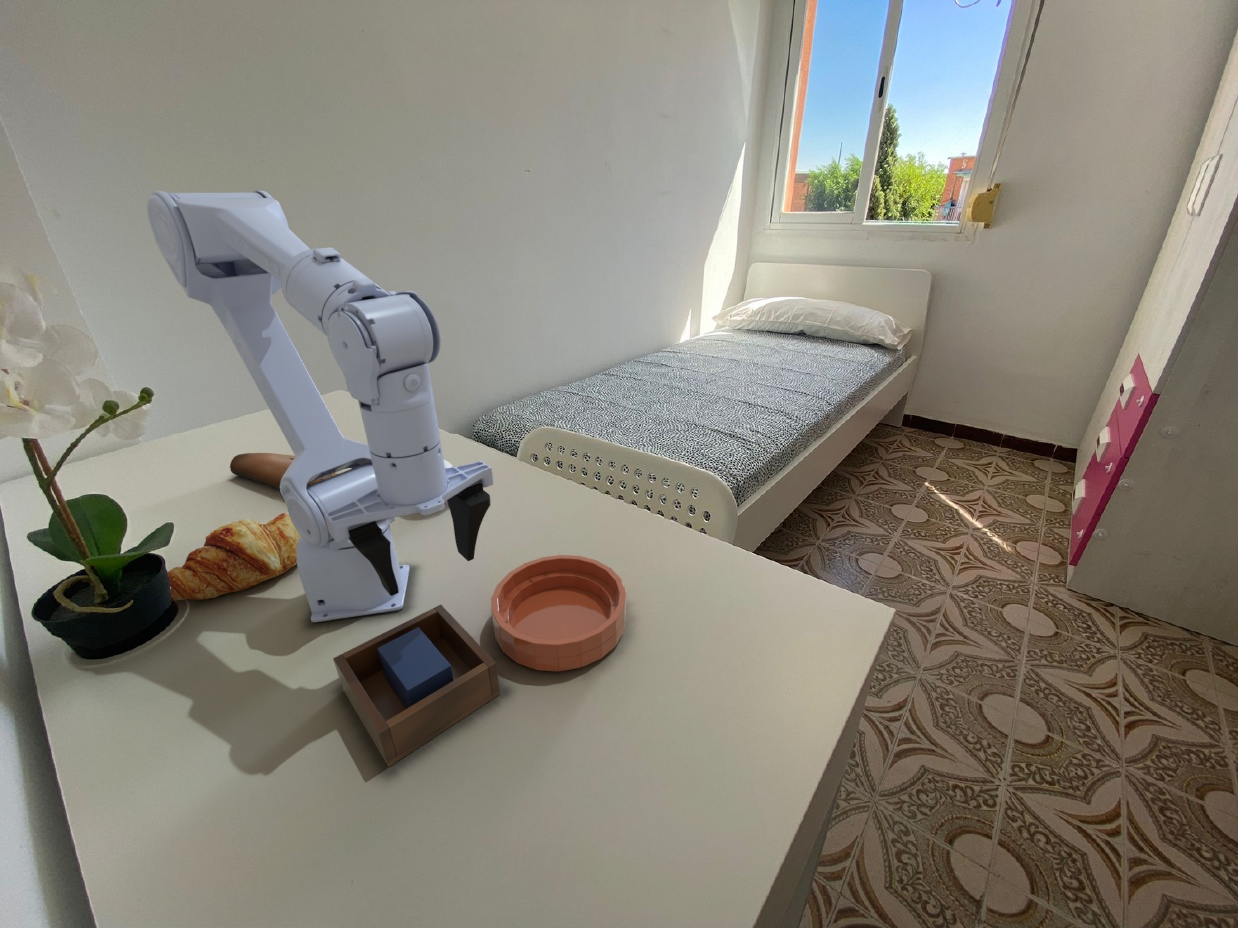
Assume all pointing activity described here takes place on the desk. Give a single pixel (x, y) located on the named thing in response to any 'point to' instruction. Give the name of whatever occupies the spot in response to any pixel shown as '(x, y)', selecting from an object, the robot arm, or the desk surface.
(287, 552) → the croissant
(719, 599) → the desk surface
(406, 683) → the dark blue block
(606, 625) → the bowl
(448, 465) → the white sphere
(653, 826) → the desk surface
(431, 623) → the box
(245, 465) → the sunglasses case
